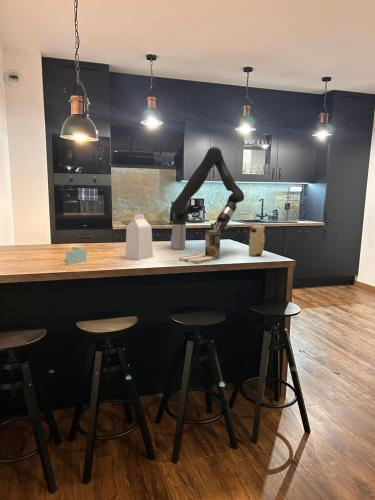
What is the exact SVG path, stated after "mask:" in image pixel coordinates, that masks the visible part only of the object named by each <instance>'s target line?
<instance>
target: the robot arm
mask: <svg viewBox="0 0 375 500" xmlns="http://www.w3.org/2000/svg"><path fill="white" fill-rule="evenodd" d="M201 161H202V162H201V163H200V164H199V165H198V167H197V168H196V169H195V170H194V172H193V173H192V175H190V178H189V179H188V181H187V182H186V184H185V185H184V187H183V189H182V191H181V192H180V193H179V195H178V196H177V197H176V199H174V200H173V202H172V203H171V208H170V209H171V212H172V213H173V214H174V215H173V219H172V223H171V224H172V228H171V230H172V232H171V233H172V234H170V248H171V249H172V250H185V249H186V230H187V229H186V228H187V225H186V224H187V219H188V205H187V204H188V202H189V201H190V199H191V198H192V197H193V196H194V195H195V194H197V192H198V191H199V190H200V189H201V188H202V186H203V184H204V183H205V181H206V180H207V178H208V176H209V173H210V171H211V170H212V168H213V167H214V166H215V168H216V169H217V171H218V173H219V176H220V179H221V182H222V184H223V186H224V187H225V189H226V190H227V191H228V192H231V194H230V195H229V196H228V198H227V202H226V204H225V206H223V208H222V210H221V212H220V213H219V215H218V216H217V218H216V221H215V222H214V223H210V226H211V230H220V234H221V233H223V232H224V231H226V230H228V229H229V226H228V225H229V222H230V220H231V219H232V218H233V214H234V213H235V212H236V209H237V207H238V206H237V204H239V203H240V202H243V201H244V199H245V193H244V192H243V191H242V189H241V188H240V187H239V186H238V185H237V183H236V181H235V179H234V178H233V176H232V174H231V173H230V170H229V168H228V166H227V164H226V162H225V159H224V156H223V151H222V149H220V147H218V146H211V147H209V148H208V149H207V152H206V154H205V155H204V157H203V159H202V160H201Z"/></svg>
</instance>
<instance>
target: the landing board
mask: <svg viewBox="0 0 375 500" xmlns="http://www.w3.org/2000/svg"><path fill="white" fill-rule="evenodd" d="M216 259H217V258H216V257H211V256H206V255H205V254H202V253H201V254H200V253H195V254H190V255H185V256H180V257H178V260H179V261H181V260H182V262H186V261H187V263H190V262H191V263H190V264H195V263H196V264H195V265H199V264H203V262H204V263H207V261H208V262H212V261H216ZM211 260H212V261H211Z"/></svg>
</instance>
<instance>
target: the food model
mask: <svg viewBox="0 0 375 500" xmlns="http://www.w3.org/2000/svg"><path fill="white" fill-rule="evenodd" d="M265 230H266V229H265V226H264V225H259V224H258V225H252V226H250V231H249V242H248V255H249V256H254V257H261V256H262V255H263V251H264V247H265V237H266V235H265V234H266V232H265Z"/></svg>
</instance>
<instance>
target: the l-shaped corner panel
mask: <svg viewBox="0 0 375 500" xmlns="http://www.w3.org/2000/svg"><path fill="white" fill-rule="evenodd" d="M71 249H72V250H71V251H66V252H65V257H66V258H64V262H65V263H66V266H68V265H74V264H79V263H81V264H82V263H85V262H87V249H86V248H80V247H77V246H72V248H71Z"/></svg>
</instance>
